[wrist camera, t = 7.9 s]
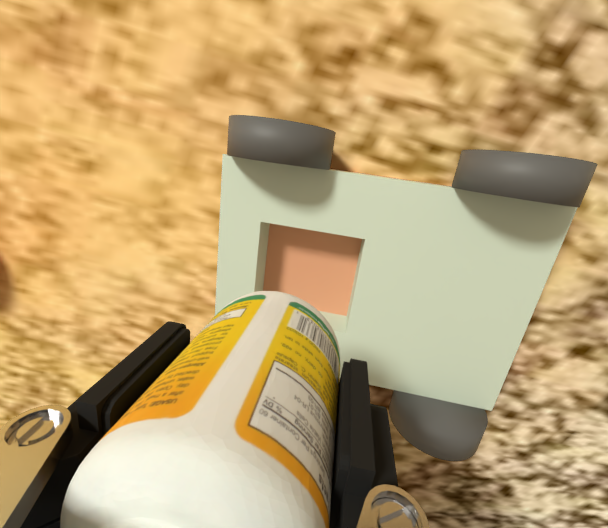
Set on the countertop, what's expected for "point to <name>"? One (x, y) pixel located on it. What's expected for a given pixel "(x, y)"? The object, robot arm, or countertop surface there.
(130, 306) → the countertop surface
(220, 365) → the supplement bottle
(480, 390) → the chassis
